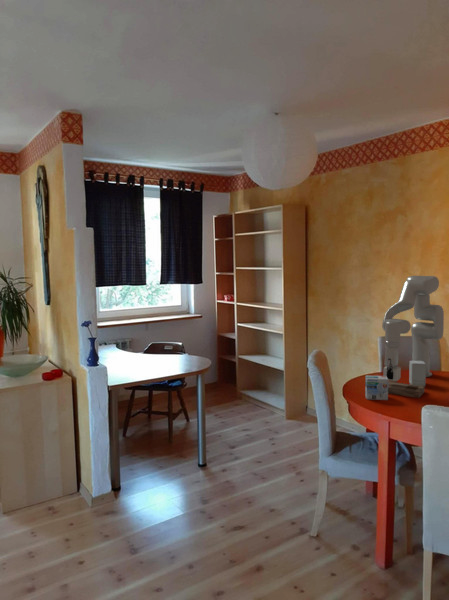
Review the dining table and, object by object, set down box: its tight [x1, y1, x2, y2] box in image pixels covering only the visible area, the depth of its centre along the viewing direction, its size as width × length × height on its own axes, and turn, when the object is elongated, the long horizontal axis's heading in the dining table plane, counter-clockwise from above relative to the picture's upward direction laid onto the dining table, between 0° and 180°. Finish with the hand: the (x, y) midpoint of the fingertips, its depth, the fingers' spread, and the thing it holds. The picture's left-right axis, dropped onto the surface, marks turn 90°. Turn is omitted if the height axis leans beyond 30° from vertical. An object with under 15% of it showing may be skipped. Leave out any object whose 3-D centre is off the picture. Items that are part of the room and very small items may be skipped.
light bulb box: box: [364, 375, 389, 401], centre depth 233 cm, size 11×7×11 cm, turn 80°
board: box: [388, 380, 426, 399], centre depth 242 cm, size 12×20×3 cm, turn 55°
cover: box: [382, 366, 402, 382], centre depth 244 cm, size 7×7×6 cm
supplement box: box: [408, 360, 427, 387], centre depth 255 cm, size 7×7×13 cm
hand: (391, 377), depth 244 cm, fingers closed on cover, 7 cm apart
